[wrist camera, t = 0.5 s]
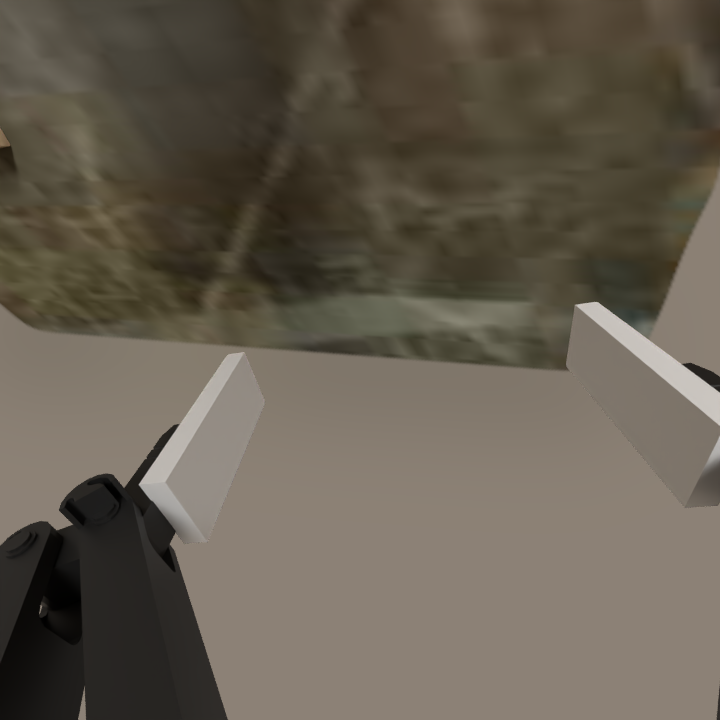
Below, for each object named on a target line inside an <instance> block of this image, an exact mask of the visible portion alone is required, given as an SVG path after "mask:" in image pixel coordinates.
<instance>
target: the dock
mask: <svg viewBox="0 0 720 720" xmlns="http://www.w3.org/2000/svg"><path fill="white" fill-rule="evenodd" d="M8 146H11V145H10V144H9V142H8V140H7V138H6V137H5V135H4V133H3V131H2V130H1V128H0V148H4V147H8Z"/></svg>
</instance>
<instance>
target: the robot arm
mask: <svg viewBox="0 0 720 720" xmlns="http://www.w3.org/2000/svg"><path fill="white" fill-rule="evenodd" d="M566 367H567V368H568V369H569V370H570V371H571V373H572V374H573V375H574V376H575V377H576V378H577V380H578V381H579V382H580V383H581V385H582V386H583V387H584V388H585V389H586V391H587V392H588V393H589V394H590V395H591V397H592V398H593V399H594V400H595V401H596V402H597V404H598V405H599V406H600V407H601V408H602V410H603V411H604V412H605V413H606V414H607V416H608V417H609V418H610V419H611V420H612V422H613V423H614V424H615V425H616V426H617V427H618V429H619V430H620V431H621V432H622V434H623V435H624V436H625V437H626V438H627V440H628V441H629V442H630V443H631V444H632V446H633V447H634V448H635V449H636V450H637V452H638V453H639V454H640V455H641V456H642V457H643V459H644V460H645V461H646V462H647V463H648V465H649V466H650V467H651V468H652V469H653V471H654V472H655V473H656V474H657V475H658V477H659V478H660V479H661V480H662V481H663V483H664V484H665V485H666V486H667V487H668V488H669V490H670V491H671V492H672V493H673V495H674V496H675V497H676V498H677V499H678V500H679V502H680V503H681V504H682V505H683V506H684V508H691V507H704V506H717V505H718V504H719V503H720V377H719V376H718V375H716V374H715V373H714V372H712V371H709V370H707V369H705V368H702V367H700V366H697V365H695V364H692V363H686V364H680V363H679V362H677V361H676V360H675V359H673V358H672V357H671V356H670V355H668V354H667V353H666V352H664V351H663V350H661V349H660V348H659V347H657V346H656V345H655V344H653V343H652V342H651V341H649V340H648V339H647V338H645V337H644V336H643V335H641V334H640V333H638V332H637V331H636V330H634V329H633V328H632V327H630V326H629V325H628V324H626V323H625V322H624V321H622V320H621V319H620V318H618V317H617V316H616V315H614V314H613V313H611V312H610V311H609V310H607V309H606V308H605V307H603V306H602V305H601V304H599V303H598V302H592V303H585V304H578V305H575V309H574V316H573V322H572V329H571V336H570V342H569V349H568V355H567V362H566ZM264 404H265V400H264V398H263V395H262V393H261V391H260V388H259V386H258V383H257V381H256V379H255V376H254V373H253V371H252V369H251V366H250V364H249V361H248V359H247V357H246V354H245V352H241V353H234V354H228V355H227V356H226V358H225V359H224V360H223V362H222V363H221V365H220V366H219V368H218V369H217V371H216V372H215V374H214V375H213V376H212V378H211V380H210V381H209V382H208V384H207V385H206V387H205V388H204V390H203V391H202V393H201V394H200V396H199V397H198V399H197V400H196V402H195V403H194V404H193V406H192V407H191V409H190V410H189V412H188V413H187V415H186V416H185V418H184V419H183V421H182V422H181V424H177V425H174V426H173V427H171V428H170V429H169V430H168V431H167V432H166V433H164V434H163V435H162V437H161V438H160V439H159V441H158V442H157V443H156V445H155V446H154V450H151V452H150V453H149V454H148V456H147V459H145V460H144V462H143V463H142V464H141V466H140V467H139V468H138V470H137V471H136V473H135V474H134V475H133V477H132V478H131V480H130V481H129V482H128V484H127V485H126V487H125V488H123V486H122V485H121V484H120V483H119V482H118V480H117V479H116V478H115V477H114V475H112V474H102V475H97V476H95V477H93V478H90V479H88V480H86V481H84V482H83V483H81V484H80V485H78V486H77V487H75V488H74V489H73V490H72V491H71V492H70V493H69V494H68V495H67V496H66V497H65V499H64V500H63V501H62V503H61V505H60V509H59V511H60V512H61V513H62V514H63V515H64V516H65V517H66V518H67V519H68V520H69V521H70V522H71V523H72V524H73V525H71V526H68V527H66V528H63V529H60V530H56V529H54V528H53V527H52V526H51V525H50V524H49V523H48V522H43V521H39V522H36V523H33V524H30V525H28V526H26V527H24V528H22V529H20V530H19V531H17V532H15V533H14V534H12V535H11V536H10V537H9V538H7V540H6V541H5V542H4V543H3V544H2V545H1V546H0V720H78V716H79V711H80V706H81V701H82V696H83V691H84V686H85V702H86V720H228V719H227V716H226V713H225V710H224V707H223V703H222V700H221V697H220V694H219V691H218V687H217V684H216V681H215V678H214V675H213V672H212V669H211V665H210V662H209V659H208V656H207V653H206V649H205V646H204V643H203V640H202V637H201V634H200V630H199V628H198V624H197V621H196V618H195V615H194V611H193V608H192V605H191V602H190V599H189V596H188V592H187V589H186V586H185V583H184V580H183V577H182V573H181V570H180V567H179V564H178V561H177V557H176V554H175V551H174V549H173V548H172V547H171V546H170V542H171V540H172V538H173V536H174V534H175V532H176V534H177V535H178V536H179V537H180V539H181V540H182V541H183V543H185V544H186V543H200V542H208V540H209V537H210V535H211V532H212V530H213V528H214V525H215V523H216V520H217V518H218V516H219V513H220V511H221V508H222V506H223V504H224V501H225V499H226V496H227V494H228V492H229V489H230V487H231V484H232V482H233V479H234V477H235V475H236V472H237V470H238V467H239V465H240V463H241V460H242V458H243V455H244V453H245V450H246V448H247V446H248V443H249V441H250V438H251V436H252V434H253V431H254V429H255V426H256V424H257V421H258V419H259V417H260V414H261V412H262V410H263V407H264ZM40 605H42V609H41V613H40V615H39V611H40ZM717 720H720V688H719V699H718V711H717Z"/></svg>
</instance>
